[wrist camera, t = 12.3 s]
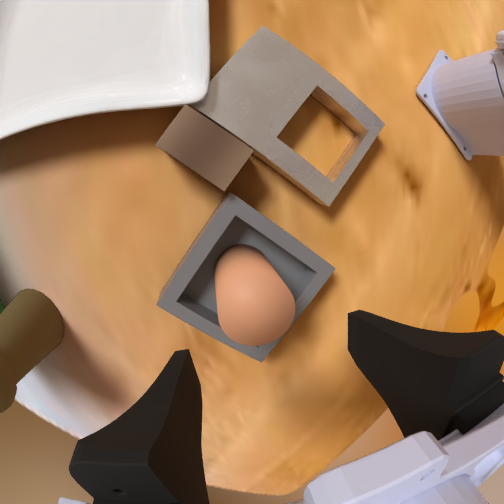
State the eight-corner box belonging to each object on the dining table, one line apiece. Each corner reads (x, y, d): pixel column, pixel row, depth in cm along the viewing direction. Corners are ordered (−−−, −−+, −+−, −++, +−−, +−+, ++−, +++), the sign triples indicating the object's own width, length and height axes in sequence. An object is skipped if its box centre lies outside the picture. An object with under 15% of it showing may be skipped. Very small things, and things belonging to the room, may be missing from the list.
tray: (322, 259, 23) (335, 268, 20) (256, 345, 24) (261, 362, 21) (228, 191, 20) (231, 192, 18) (161, 291, 21) (156, 305, 19)
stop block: (246, 155, 20) (254, 150, 17) (221, 189, 20) (224, 191, 17) (188, 116, 19) (185, 104, 15) (163, 150, 19) (155, 144, 16)
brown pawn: (17, 276, 19) (-61, 333, 8) (70, 309, 21) (6, 389, 10) (10, 328, 20) (-50, 392, 9) (58, 359, 21) (10, 439, 11)
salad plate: (214, -69, 13) (216, -90, 10) (209, 114, 19) (210, 101, 15) (19, -21, 10) (6, -33, 7) (-20, 159, 16) (-43, 159, 12)
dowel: (278, 258, 22) (309, 295, 15) (252, 303, 22) (271, 355, 16) (230, 234, 21) (241, 262, 14) (204, 282, 21) (204, 329, 15)
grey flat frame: (371, 127, 21) (384, 124, 19) (318, 203, 22) (329, 206, 20) (257, 36, 18) (262, 25, 16) (192, 111, 19) (190, 105, 17)
